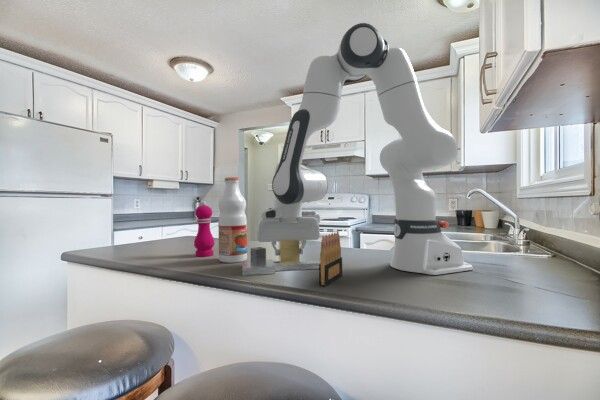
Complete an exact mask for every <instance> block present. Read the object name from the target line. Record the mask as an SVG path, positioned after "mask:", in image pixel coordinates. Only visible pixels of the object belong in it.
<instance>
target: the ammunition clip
mask: <svg viewBox="0 0 600 400" xmlns="http://www.w3.org/2000/svg"><path fill="white" fill-rule="evenodd" d="M340 236H341V235H340V233H339V231H336V232H334V233H332V232H331V234H330V233H329V234H328V235H327V234H326V235H325V236H324V235H322V237H321V241H320V255H319V256H320V259H319V261H320V264H319V269H318V286H319V285H320V287H328V286H330V285H331V284H332V283H334V282H335V281H337V280H339V279H340V278H342V277H343V257H342V249H341V248H342V247H341V238H340Z"/></svg>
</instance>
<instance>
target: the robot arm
mask: <svg viewBox="0 0 600 400" xmlns="http://www.w3.org/2000/svg"><path fill="white" fill-rule="evenodd" d="M338 46H339V47H338V49H337V52H336V53H335V54H334V55H331V56H329V55H320V56H318V57H315V58H313V60H312V61H311V62H310V64H309V68H308V70H307V73H306V76H305V82H304V86H303V92H302V96H301V97H302V99H301V102H300V105H299V108H298V110H297V111H296V112H295V113H294V114H293V116H292V117H291V119H290V121H289V125H288V128H287V132H286V137H285V140H284V143H283V148H282V151H281V155H280V159H279V163H278V164H276V167H275V170H274V175H273V179H272V181H271V189H272V192H273V194H274V196H275V198H274V202H273V203H274V206H273V207H269V208H268V209H264V210H262V211H261V212H260V217H261V219H260V220H259V222H258V223H257V224H258V225H257V231H256V232H257V233H256V239H257V241H258V242H260V243H268V242H269V243H271V247H272V248H273V250H274V256H278V257H279V255H280V250H279V248H277V247H276V245H277V242H279V241H287V240H299V242H300V243H301V244H300V246H299V250H300V255H304V248H305V246H306V245H307V241H318V240H319V239H320V237H321V232H320V231H321V230H320V225H319V224H320V223H321V215H320V214H319V213H318V212H316V211H313V210H312V211H303V203H311V202H317V201H321V200H322V199H323V198H324V197H325V196H326V194H327V192H328V189H329V183H328V179H327V176H326V175H325V174H324V173H322V172H321V171H318V170H315V169H312V168H308V167H306V166H305V165H303V164H302V163H303V159H304V155H305V152H306V151H305V150H306V146H307V144H308V140H309V139H310V137H311V136H312V135H313V134H314V133H316V132H318V131H320V130H321V131H322V130H324V129H326V128H328V127H329V126H331V125H332V124H333V123H334V122H335V121H336V120H337V118H338V114H339V111H340V106H341V101H342V100H341V98H342V92H343V87H344V84H348V83H356V82H359V81H361V80H363V79H364V78H365V77H366V76H368V77H369V79H371V81H372V83H373V84H374V86H375V92H376V94H377V98H378V102H379V105H380V109H381V112H382V115H383V119H384V121H385V123H387V125H389V126H392V127H393V128H394V129H395V130H396V131H397V132H398V134H399V135H400V137H401V138H398V139H395V140H393V141H391V142H389V143H388V144H386V145H385V146H383V148H382V149H381V150H380V154H379V162H380V166H381V167H382V169H384V170H385V172H387V173H386V174H388V175H389V177H390V181H391V183H392V188H393V192H394V201H395V202H394V203H395V218H394V221H393V235H394V247H393V252H392V258H391V260H390V263H389V264H390V267H391V268H393V269H396V270H400V271H404V272H411V273H417V274H420V273H421V274H425V275H430V276H431V275H433V276H436V275H438V276H439V275H444V274H452V273H460V272H465V271H473V268H474V267H473V265H472V264H470V263H468V262H465V261H464V254H463V251H462V248H461V246H460V245H458V244H457V243H456V242H454V241H453V240H452V239H451V238H449V237H448V236H447V235H445V233H443V232H442V229H448V228H449V226H450V223H449V222H448V221H443V220H442V221H439V220H438V219H436V217H437V216H436V213H437V212H436V209H437V208H436V207H437V206H436V199H437V198H436V196H437V195H436V192H435V191H434V189H432V188H431V187H429V185H428V184H427V183H426V181H425V177H424V175H423V172H430V171H431V172H432V171H436V170H439V169H442V168H445V167H447V166H449V165H451V164H452V163H453V162H454V161H455V159H456V157H457V155H458V149H459V148H458V143H457V140H456V138H455V136H454V135H453V134H452V133H451V132H450V131H448V130H446V129H444V128H442V127H440V126H439V125H438V124H437V123H436V122H435V121H434V120H433V119H432V117H431V115H430V114H429V113H428V111H427V109H426V107H425V104H424V102H423V101H424V100H423V99H422V94H421V91H420V87H419V84H418V81H417V76H416V74H415V71H414V68H413V66H412V63H411V61H410V59H409V57H408V55H407V53H406V51H405V50H404V49H402V48H400V47H390V48H389V43H388V42H387V40H386V39H385V38H383V36H382V35H381V33H380V32H379V31H378V29H377V28H376V27H375V26H373V25H372V24H370V23H366V22H360V23H357V24H355V25H352V26H351V27H350V28H349V29H348V30H347V31H346V32H345V33H344V35H343V36H342V39H341V41H340V44H339V45H338Z"/></svg>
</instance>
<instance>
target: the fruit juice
mask: <svg viewBox="0 0 600 400" xmlns="http://www.w3.org/2000/svg"><path fill="white" fill-rule="evenodd" d="M224 183H225V188H224V191H223V194H222V196H220V198H219V200H218V210H219V215H218V220H217V221H218V225H217V226H218V259H219V262H221V263H226V264H227V263H231V264H235V263H240V262H242V263H243V261H247V259H248V219H247V215H246V208H247V201H246V199H245V197H244V196H243V195H242V193H241V190H240V186H239V183H240V177H232V176H231V177H224Z"/></svg>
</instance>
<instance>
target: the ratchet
mask: <svg viewBox="0 0 600 400" xmlns="http://www.w3.org/2000/svg"><path fill="white" fill-rule="evenodd" d="M319 264H320V260H307V261H300V262H285V263H279V262H275V261H274V259H267V247H262V246H258V247H251V248H250V260H245V261H242V268H241V275H242V276H257V275H259V276H261V275H274V274H275V275H276V272H281V271H300V270H303V271H304V270H319Z"/></svg>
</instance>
